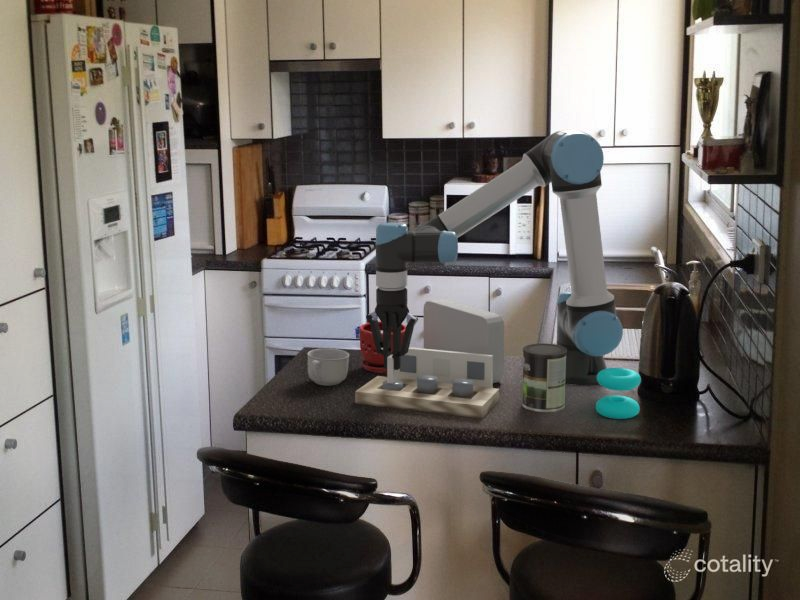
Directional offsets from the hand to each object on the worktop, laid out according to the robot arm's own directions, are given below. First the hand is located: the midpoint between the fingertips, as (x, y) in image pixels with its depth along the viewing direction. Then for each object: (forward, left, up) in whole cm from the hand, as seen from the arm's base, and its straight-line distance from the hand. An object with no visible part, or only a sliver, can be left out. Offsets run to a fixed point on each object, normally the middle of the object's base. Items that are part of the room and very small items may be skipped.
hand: (392, 381), depth 237 cm
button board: (-9, 0, -4) cm, 10 cm away
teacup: (+21, -5, -4) cm, 22 cm away
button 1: (0, 0, -3) cm, 3 cm away
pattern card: (-9, -11, -4) cm, 15 cm away
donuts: (-54, -7, -4) cm, 54 cm away
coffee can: (-36, -7, -4) cm, 37 cm away
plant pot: (+12, -23, -4) cm, 26 cm away
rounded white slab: (-9, -27, -4) cm, 29 cm away
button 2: (-18, 0, -1) cm, 18 cm away
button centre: (-9, 0, -1) cm, 9 cm away
